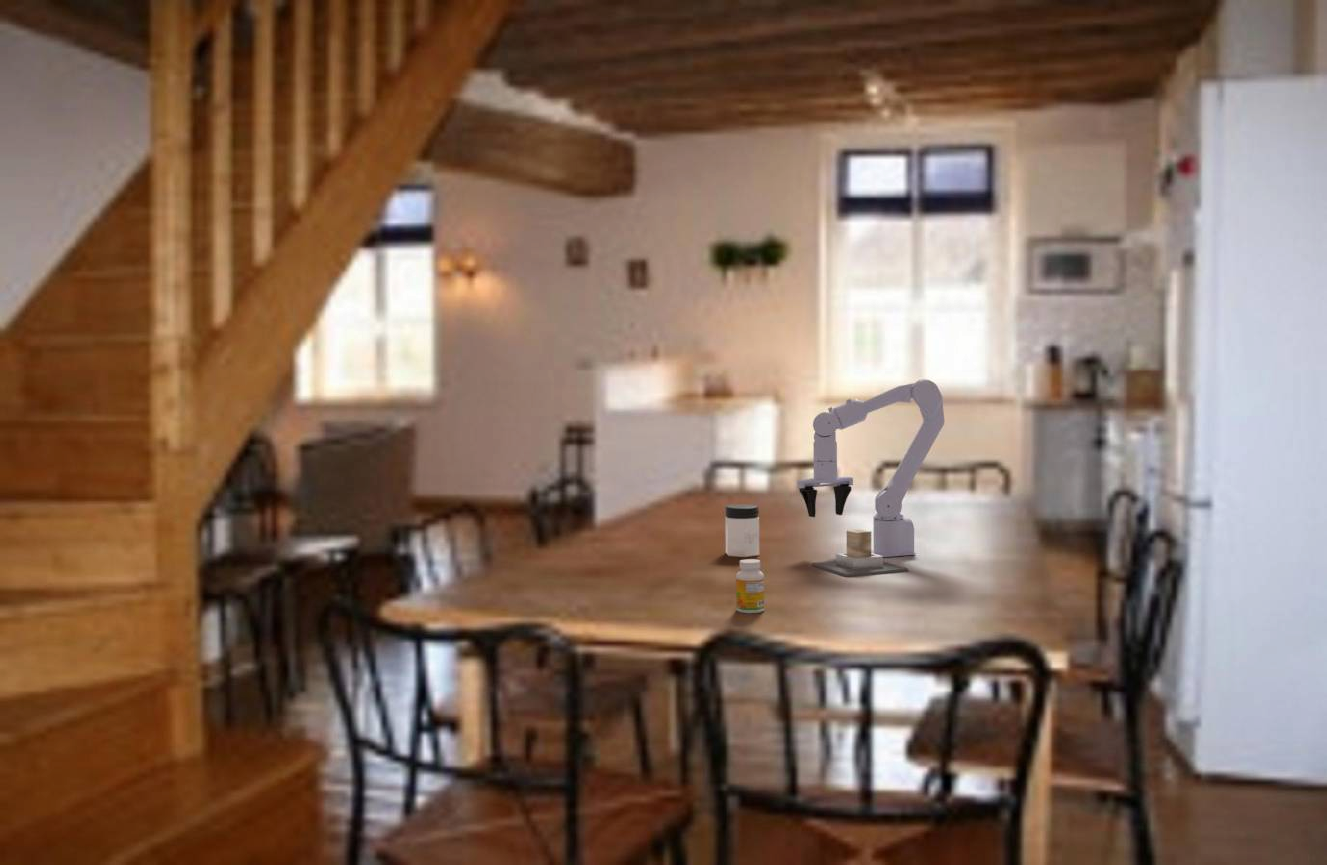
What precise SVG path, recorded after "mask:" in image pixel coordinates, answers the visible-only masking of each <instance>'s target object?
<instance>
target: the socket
mask: <svg viewBox="0 0 1327 865" xmlns="http://www.w3.org/2000/svg"><path fill="white" fill-rule="evenodd" d="M835 561H836V564H837V565H840V566H843V567H846V568H849V569H852V570H856V569H867V568H878V567H883V561H884V557H883V556H881V555H877V554H874V553H871V556H869V557H857V558H854V557H851V556H847V552H839V553H837V552H836V553H835Z"/></svg>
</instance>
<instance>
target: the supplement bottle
mask: <svg viewBox="0 0 1327 865" xmlns="http://www.w3.org/2000/svg"><path fill="white" fill-rule="evenodd" d="M739 569H740V571H738V572H737V573H736V575H735V584H736V586H735V587H736V588H735V592H736V594H735V596H736V597H735V598H736V603H735V604H736V605H735V606H736V608H735V609H736V611H737V612H739V613H743V614H758V613H762V612H764V611H765V575H764V573H763V571H761V570H760V569H761V560H759V559H754V558H749V559H748V558H747V559H741V560H739Z"/></svg>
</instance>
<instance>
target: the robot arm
mask: <svg viewBox="0 0 1327 865" xmlns="http://www.w3.org/2000/svg"><path fill="white" fill-rule="evenodd" d="M911 399H913V401H914V402H915V404H916V405H917V406H918V408H919V412H920V414H921V417H922V419H923V420H922V421H923V422H922V423H921V425H920V427H919V429H918V430H917V433H916V434H915V436H914V438H913V440H912V441H911V443H910V444H909V446H908V448H907V450H906V452H905V454H904V455H903V457H902V459H901V461H900V463H899V464H898V467H897V469H896V470H895V472H893V475H892V477H891V478H890V480H889V481H888V483H887V485H886V486H885V487H884V488H883V489H882V490H881V491H879V492H878V493H877V494H876V496H875V500H874V501H875V502H874V504H875V505H874V506H875V507H874V508H875V511H876V514H874V515H873V549H871V553H874V554H877V555H881V556H883V558H891V557H892V558H893V557H902V556H915V555H917V552H915V527H914V523H913V521H912V520H911V519H910V518H909V517H904V515H903V514H901V512H902V507H903V500H904V498H905V496H906V494H907V492H908V489H909V487H910V485H911V484H912V482H913V480H914V479H915V476H916V475H917V473H918V471H919V470H920V468H921V466H922V464H923V462H924V461H925V459H926V458H927V455H928V453H929V451H930V450H931V448H932V446H933V445H934V443H935V441H936V439H937V437H938V436H939V434H940V432H941V430H942V429H943V428H944V427H943V426H944V425H945V415H944V404H943V403H944V402H943V396H942V393H941V391H940V389H939V386H938V385H937V383H935V382H933V381H932V380H930V379H926V378H922V379H919V380H917V381H915V382H914V381H913V382H908V383H905V384H900V385H897V386H895V387H893V388H890V389H888V390H887V391H883V392H882V393H880V394H877V395H875V396H872V397H871V398H868V399H866V400H864V401H863V400H861V399H858V398H853V399H852V398H848V399H846V402H845V403H842V404H840V405H837V406H835V407H832V406H830V407H828V408H827V410H828V411H827V412H826V411H823V412H820V413H818V414H817V415H816V416H815V418H813V422H812V428H813V430H814V434H813V440H814V441H813V478H804V479H797V480H796V481H797V485H796V486H797V488H798V489H799V493H800V494H801V496H802V498H803V501H804V503H805V506H806V509H807V514H808V517H811V518H816V511H817V510H816V504H817V502H816V500H817V495H818V490H817V489H815V488H821V487H832V488H833V494H834V498H835V499H834V503H835V505H834V506H835V509H834V510H835V515H838V516H843V513H844V509H845V505H846V502H847V499H848V497H849V495H850V494H851V492H852V486H853V485H854V478H853V477H852V476H838V443H837V438H836V437H837V434H836V431H837V430H841V431H842V430H845V429H847V428H850V427H852V426H854V425H857V424H859V423H861V422H864V421H866V419H867V417H868V414H869V413H872V412H874V411H877V410H880V409H882V408H885V407H888V406H890V405H893V404H896V403H899V402H901V403H912V400H911Z"/></svg>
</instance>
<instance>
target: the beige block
mask: <svg viewBox="0 0 1327 865" xmlns="http://www.w3.org/2000/svg"><path fill="white" fill-rule="evenodd" d="M871 550H872V531H871V530H865V529H851V530H846V553H847V556H851V557H854V558H857V557H869V556H871Z"/></svg>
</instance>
